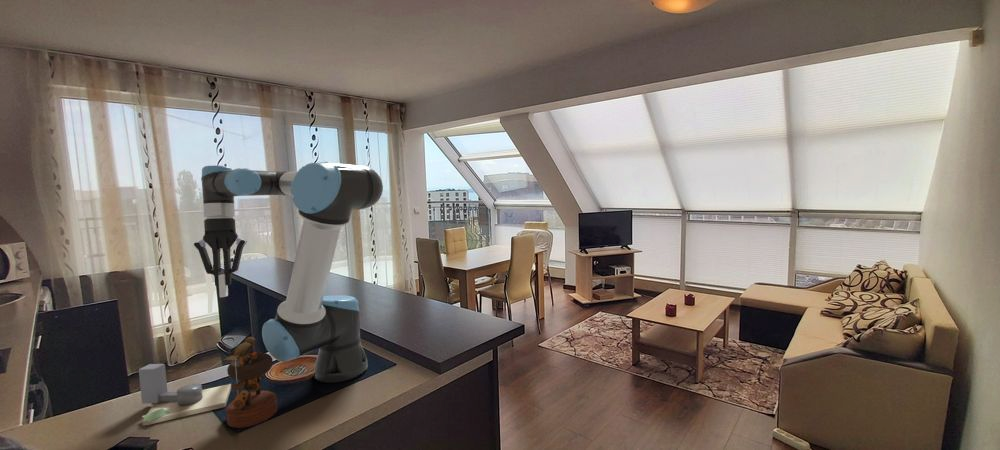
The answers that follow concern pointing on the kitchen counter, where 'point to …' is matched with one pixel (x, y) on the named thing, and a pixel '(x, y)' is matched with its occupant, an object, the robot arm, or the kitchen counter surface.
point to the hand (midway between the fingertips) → (223, 296)
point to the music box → (249, 386)
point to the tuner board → (188, 406)
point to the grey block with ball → (165, 387)
